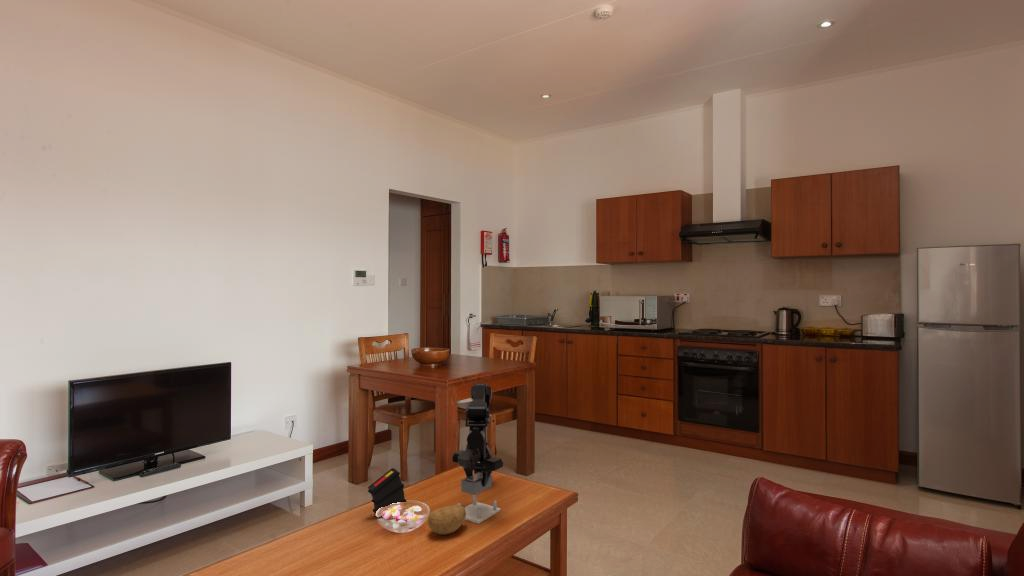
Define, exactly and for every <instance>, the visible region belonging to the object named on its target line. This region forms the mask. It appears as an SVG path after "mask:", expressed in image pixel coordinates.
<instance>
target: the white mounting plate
mask: <svg viewBox="0 0 1024 576" xmlns="http://www.w3.org/2000/svg"><path fill="white" fill-rule="evenodd" d="M492 503H493V504H492V505H490V504H486V503H483V502H479V501H477V494H476V495H473V494H472V503H471V504H469V505H466V506H464V508H465V511H466V517H465V520H464V521H469V522H471V523H476V524H480V523H482V522H484V521H485V520H487V519H489V518H490V517H492V516H494V515H495V514H497V513H498V512H501V508H500V507H498V506H497V500H495V499H494V500H492ZM456 505H461V506H462V503H460V502H458V503H457V504H456Z"/></svg>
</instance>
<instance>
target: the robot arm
mask: <svg viewBox="0 0 1024 576" xmlns="http://www.w3.org/2000/svg"><path fill="white" fill-rule="evenodd" d="M492 389H493V388H492V387H491V386H489V385H488V383H485V382H476V383H473V385H472V386H471V387H470V395H469V396H470V400H472V401H470V402H469V403H468V407H466V410H465V411H466V413H465V427H468V429H469V431H468V434H467V436H466V448H465V450H464V449H463V450H458V451H457V452H456V451H455V452H453V454H452V455H451V461H452V462H453V463H457V465H459V466H460V467H462V469H463V470H464V473H465V475H466V478H467V477H469V476H471V475H473V474H475V473H477V472H482V473H483V487H485V486H486V484H487V482H488V479H489V477H490V475H492V473H493V472H495V471H496V470H499V469H501V468H503V467H504V460H503V459H502V458H501V457H500V458H499V457H495V456H493V455H492V454H491V449H490V447H489V445H488V444H489V443H488V441H487V427H488V425H489V424H490V422H491V421H490V420H491V419H490V417H491V416H490V414H491V411H490V410H489V409H490V408H489V406H490V405H491V400H492V399H493V390H492Z"/></svg>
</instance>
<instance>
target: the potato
mask: <svg viewBox="0 0 1024 576" xmlns="http://www.w3.org/2000/svg"><path fill="white" fill-rule="evenodd" d="M465 517H466V511H465V506H463V505H462V504H461V505H457V504H452V505H448V506H444V507H441V508H438V509H435V510H433V511H432V512H429V515H428V517H427V525H428V527H429V529H430V530H431V531H432V532H433V533H435V534H438V535H442V536H443V535H450V534H453V533H455V532H456V531H457V530H458V529H460V527H461V526H462V525H463V523H464V521H466V520H465Z"/></svg>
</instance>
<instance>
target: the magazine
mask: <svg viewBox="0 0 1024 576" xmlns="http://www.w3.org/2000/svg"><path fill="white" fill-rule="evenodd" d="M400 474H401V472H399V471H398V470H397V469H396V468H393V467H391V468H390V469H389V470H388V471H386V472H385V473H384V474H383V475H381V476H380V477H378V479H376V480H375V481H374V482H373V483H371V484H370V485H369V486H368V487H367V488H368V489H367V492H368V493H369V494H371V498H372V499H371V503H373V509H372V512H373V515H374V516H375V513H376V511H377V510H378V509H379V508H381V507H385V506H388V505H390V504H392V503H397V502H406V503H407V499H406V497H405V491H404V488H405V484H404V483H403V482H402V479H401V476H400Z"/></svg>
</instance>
